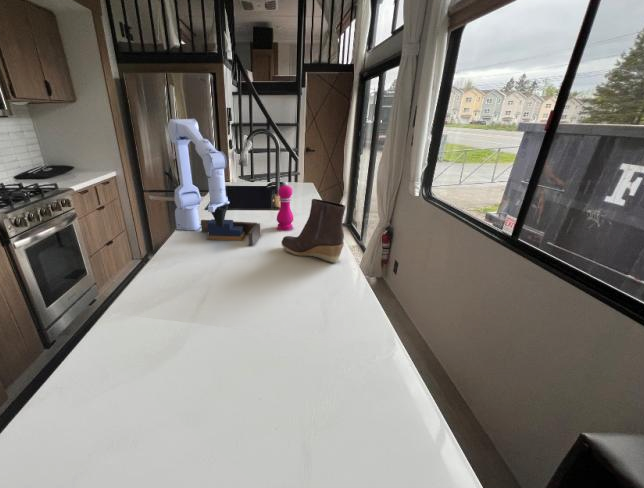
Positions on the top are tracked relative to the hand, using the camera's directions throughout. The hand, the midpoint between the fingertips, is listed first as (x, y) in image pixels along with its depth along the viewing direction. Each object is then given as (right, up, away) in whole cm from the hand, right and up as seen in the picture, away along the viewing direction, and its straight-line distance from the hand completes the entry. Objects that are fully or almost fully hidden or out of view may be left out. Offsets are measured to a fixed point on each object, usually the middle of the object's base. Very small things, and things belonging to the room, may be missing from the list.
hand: (220, 226), depth 119 cm
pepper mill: (+25, +1, +21) cm, 33 cm away
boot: (+33, -11, -4) cm, 35 cm away
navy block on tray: (+1, -3, +12) cm, 12 cm away
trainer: (+1, -3, +12) cm, 13 cm away
